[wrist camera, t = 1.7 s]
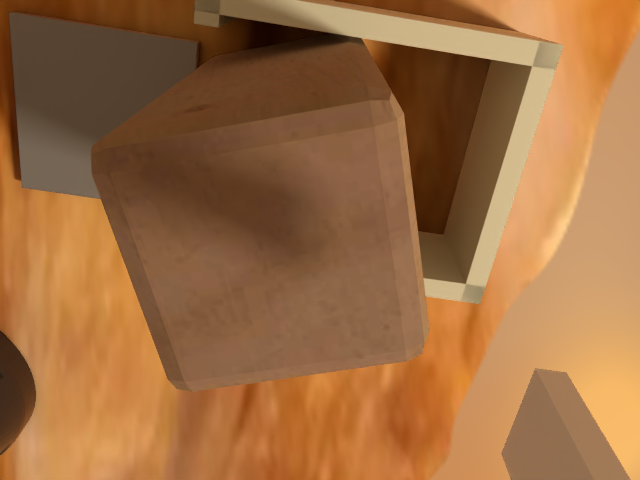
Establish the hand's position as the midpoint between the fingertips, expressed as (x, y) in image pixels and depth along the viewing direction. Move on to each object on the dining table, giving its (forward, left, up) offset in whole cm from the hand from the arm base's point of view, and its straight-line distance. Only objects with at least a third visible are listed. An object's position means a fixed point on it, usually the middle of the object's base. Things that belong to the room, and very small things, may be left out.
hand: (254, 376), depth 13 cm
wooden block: (0, 0, -26) cm, 26 cm away
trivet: (-12, -2, -25) cm, 28 cm away
